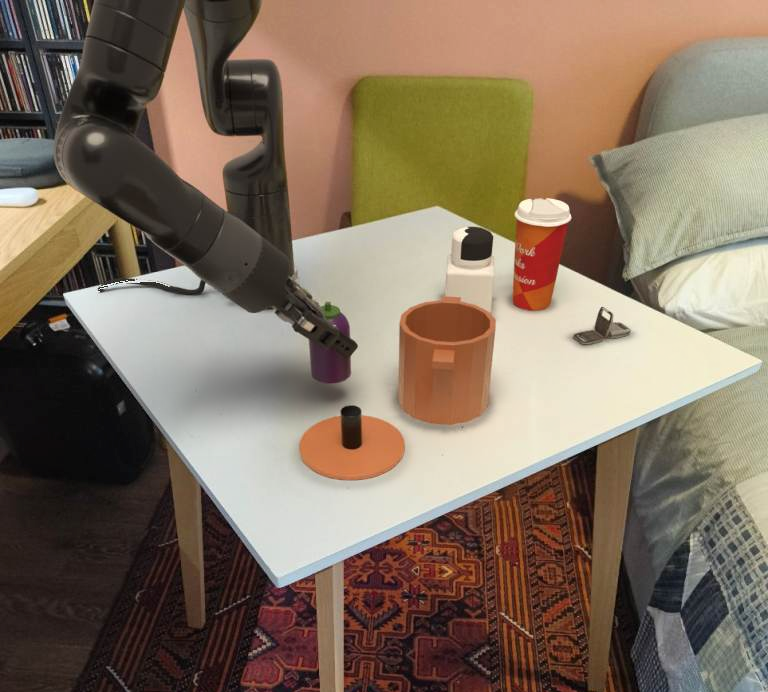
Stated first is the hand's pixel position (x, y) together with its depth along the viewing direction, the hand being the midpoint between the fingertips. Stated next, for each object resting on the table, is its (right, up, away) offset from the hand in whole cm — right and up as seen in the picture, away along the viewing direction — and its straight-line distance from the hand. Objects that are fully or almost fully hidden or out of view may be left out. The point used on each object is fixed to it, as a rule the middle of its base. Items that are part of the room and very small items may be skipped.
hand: (343, 340), depth 94 cm
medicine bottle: (+18, +11, +26) cm, 34 cm away
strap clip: (+37, +5, +19) cm, 42 cm away
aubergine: (-2, -4, +2) cm, 5 cm away
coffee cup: (+28, +12, +28) cm, 41 cm away
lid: (+1, -13, -3) cm, 14 cm away
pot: (+13, -7, +5) cm, 15 cm away
